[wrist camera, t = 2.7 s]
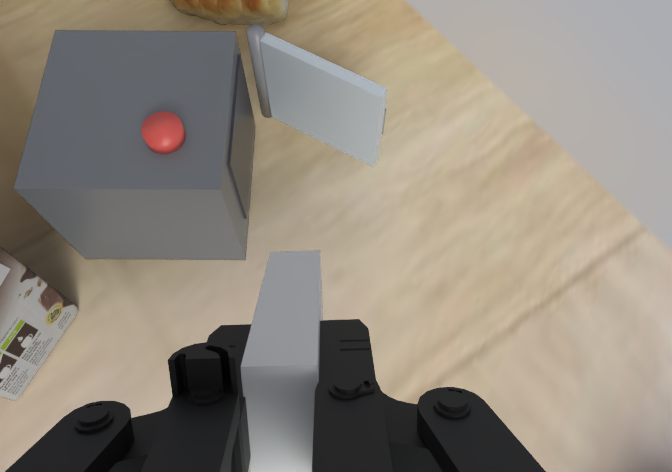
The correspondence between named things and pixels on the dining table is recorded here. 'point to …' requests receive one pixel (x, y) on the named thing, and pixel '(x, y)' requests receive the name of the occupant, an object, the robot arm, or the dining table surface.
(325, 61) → the side door
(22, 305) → the coffee box
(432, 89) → the dining table surface
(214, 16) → the pastry
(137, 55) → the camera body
